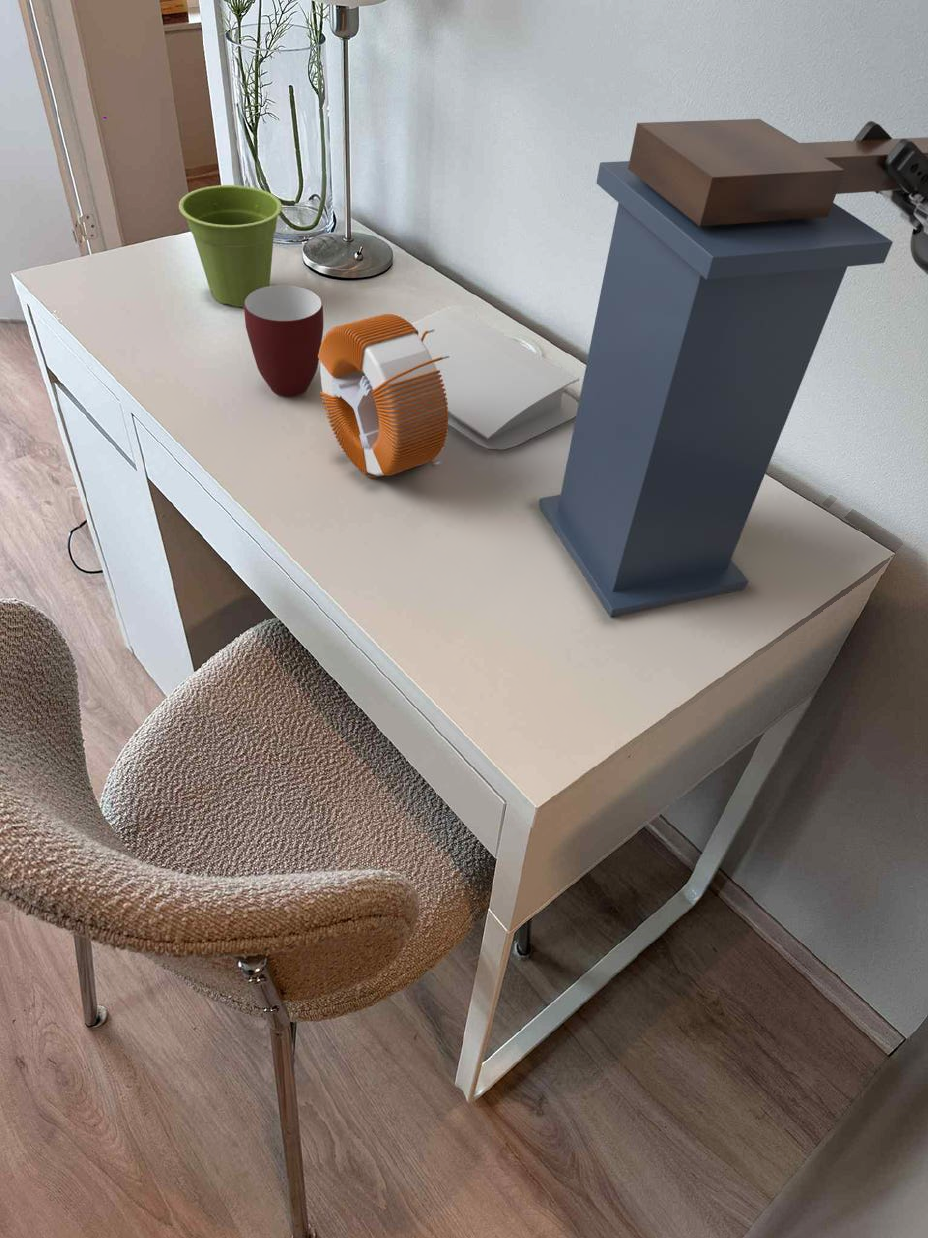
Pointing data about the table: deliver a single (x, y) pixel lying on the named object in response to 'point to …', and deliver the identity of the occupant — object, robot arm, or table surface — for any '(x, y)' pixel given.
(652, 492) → the blue tapered column stand
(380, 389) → the coil
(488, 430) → the book
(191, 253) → the table surface
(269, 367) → the mug
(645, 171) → the paddle
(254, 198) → the plant pot
